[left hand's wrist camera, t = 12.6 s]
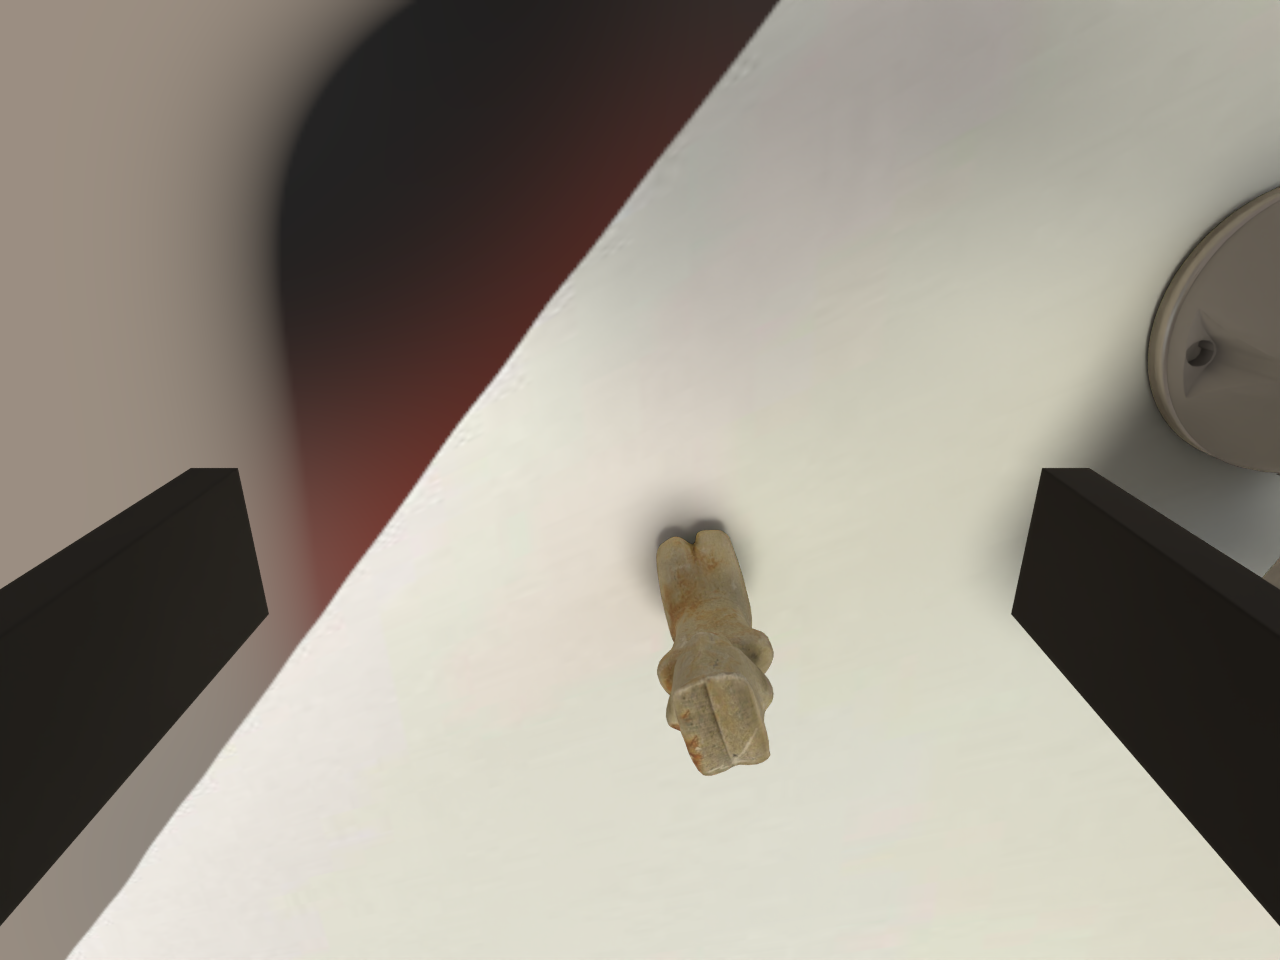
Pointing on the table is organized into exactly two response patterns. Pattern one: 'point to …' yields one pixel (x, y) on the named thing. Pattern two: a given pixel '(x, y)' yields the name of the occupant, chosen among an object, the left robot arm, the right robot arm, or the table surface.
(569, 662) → the table surface
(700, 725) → the sculpture
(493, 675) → the table surface
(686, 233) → the table surface
